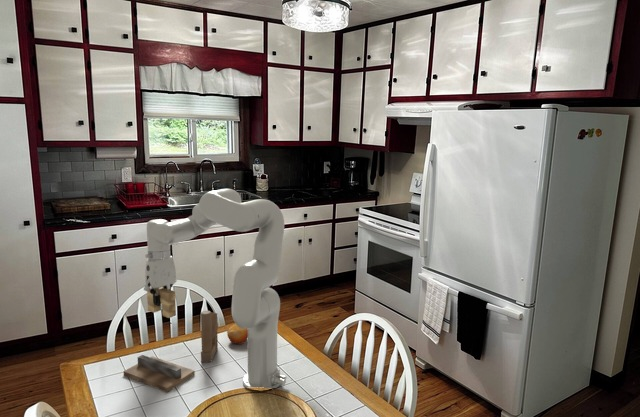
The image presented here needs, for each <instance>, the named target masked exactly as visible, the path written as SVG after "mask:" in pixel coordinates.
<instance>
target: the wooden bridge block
mask: <svg viewBox="0 0 640 417" xmlns="http://www.w3.org/2000/svg"><path fill="white" fill-rule="evenodd" d="M150 289H151V286H150ZM146 295H147V296H146V298H147V311H148V312H151V313H153V314H154V313H157V312H160V311H162V312H161V313H162V317H165V318H167V319H170V318H174V317H176V316H177V310H176V309H177V308H176V307H177V304H176V291H175V290H172V289H171V290H169V289H166V288H163V287H160V288H159V295H160V303H161V305H160V306H157V305H154V303H153V295H152V294H151V293H150V292H147V291H146Z"/></svg>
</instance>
